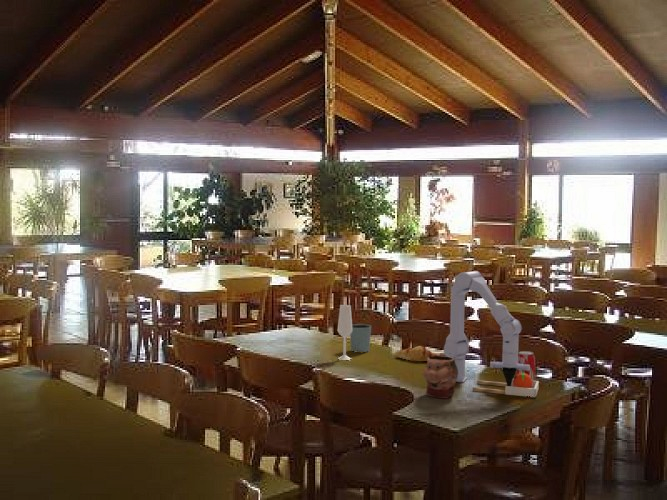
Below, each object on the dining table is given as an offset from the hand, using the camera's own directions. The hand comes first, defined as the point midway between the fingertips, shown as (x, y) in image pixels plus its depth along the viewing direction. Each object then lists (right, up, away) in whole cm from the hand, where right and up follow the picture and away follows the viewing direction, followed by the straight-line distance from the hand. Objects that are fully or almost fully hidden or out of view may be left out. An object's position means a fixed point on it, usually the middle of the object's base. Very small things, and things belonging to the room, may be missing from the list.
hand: (509, 387), depth 290 cm
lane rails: (-6, -1, +2) cm, 7 cm away
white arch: (+5, -1, -2) cm, 5 cm away
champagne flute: (-62, +3, +51) cm, 80 cm away
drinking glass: (-54, +4, +69) cm, 88 cm away
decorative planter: (-27, -1, -8) cm, 28 cm away
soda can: (+10, 0, +12) cm, 16 cm away
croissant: (-29, +3, +53) cm, 60 cm away
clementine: (+5, -1, -2) cm, 5 cm away
